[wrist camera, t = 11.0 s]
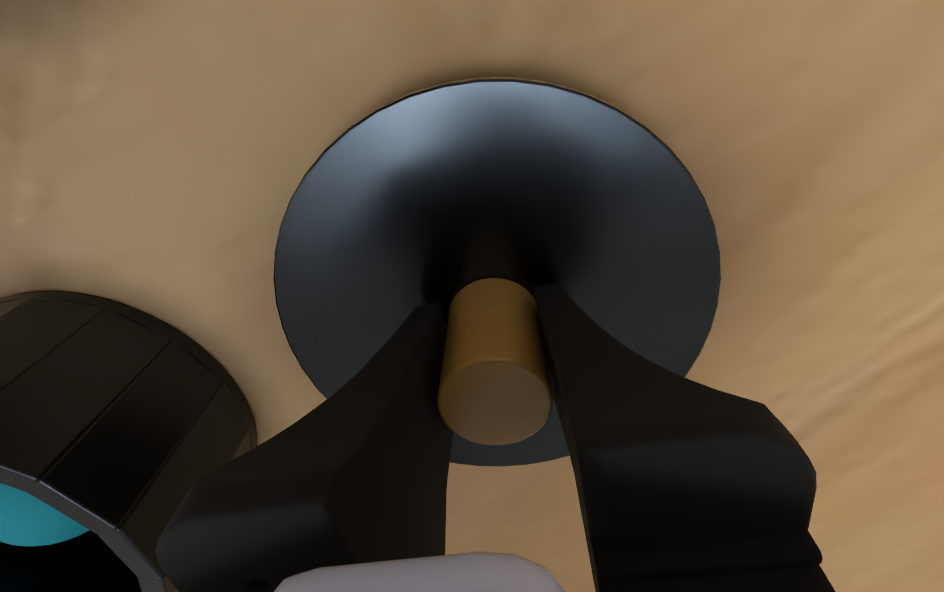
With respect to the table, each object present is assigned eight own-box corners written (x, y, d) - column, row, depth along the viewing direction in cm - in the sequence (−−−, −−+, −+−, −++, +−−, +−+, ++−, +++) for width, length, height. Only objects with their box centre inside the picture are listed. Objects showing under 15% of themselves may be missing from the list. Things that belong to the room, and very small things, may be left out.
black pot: (299, 490, 20) (234, 657, 15) (75, 517, 22) (-56, 678, 16) (168, 264, 15) (-1, 399, 10) (-117, 319, 16) (-396, 462, 11)
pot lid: (700, 417, 16) (768, 546, 12) (364, 460, 18) (328, 588, 14) (711, 18, 10) (843, 22, 6) (213, 131, 12) (79, 190, 8)
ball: (187, 459, 19) (109, 569, 15) (83, 475, 19) (-20, 586, 15) (127, 364, 17) (20, 461, 13) (13, 385, 17) (-126, 485, 13)
